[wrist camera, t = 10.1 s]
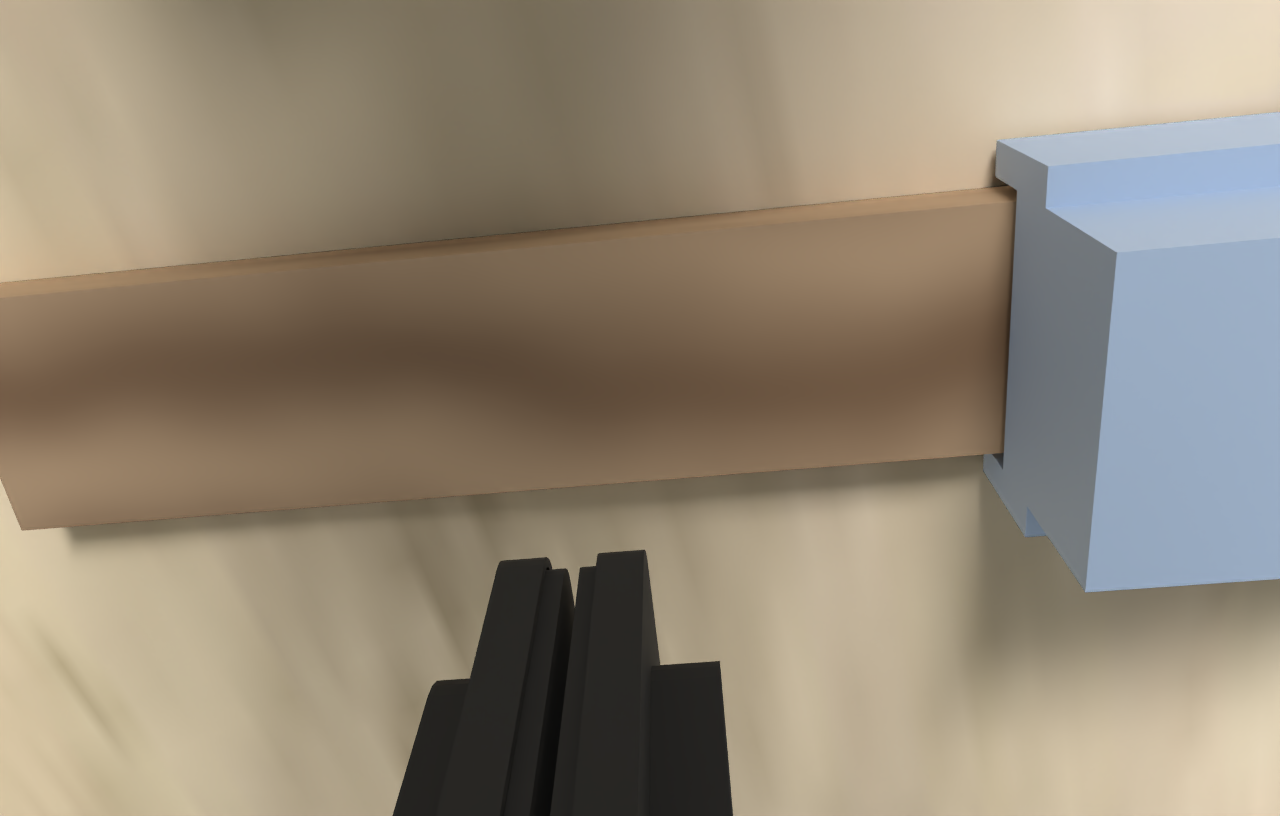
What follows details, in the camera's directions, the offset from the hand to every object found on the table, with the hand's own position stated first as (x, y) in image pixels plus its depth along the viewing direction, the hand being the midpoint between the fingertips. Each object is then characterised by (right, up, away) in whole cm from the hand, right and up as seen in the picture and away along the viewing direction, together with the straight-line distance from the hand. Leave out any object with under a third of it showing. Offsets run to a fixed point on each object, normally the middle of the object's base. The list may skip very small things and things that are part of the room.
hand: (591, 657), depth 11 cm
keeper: (+12, +6, +12) cm, 18 cm away
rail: (+2, +5, +13) cm, 13 cm away
